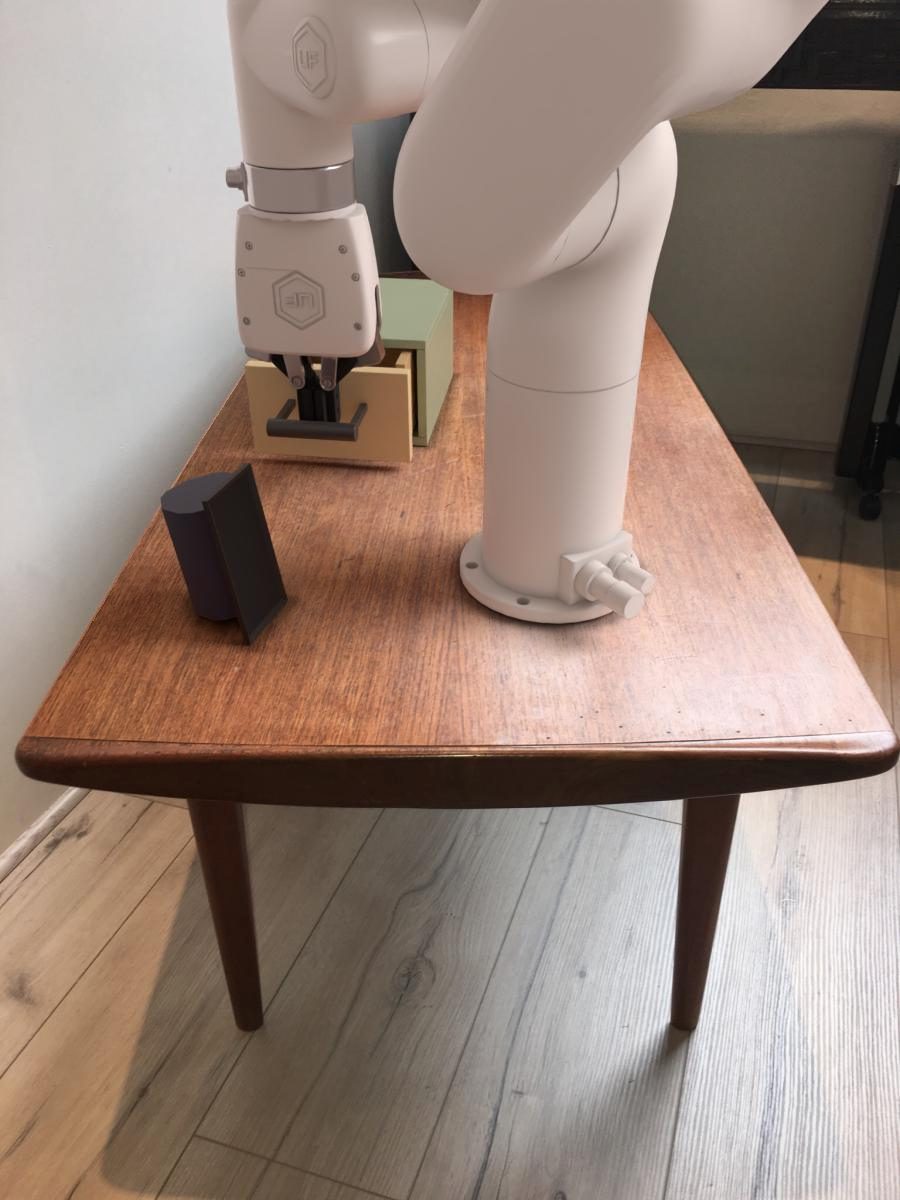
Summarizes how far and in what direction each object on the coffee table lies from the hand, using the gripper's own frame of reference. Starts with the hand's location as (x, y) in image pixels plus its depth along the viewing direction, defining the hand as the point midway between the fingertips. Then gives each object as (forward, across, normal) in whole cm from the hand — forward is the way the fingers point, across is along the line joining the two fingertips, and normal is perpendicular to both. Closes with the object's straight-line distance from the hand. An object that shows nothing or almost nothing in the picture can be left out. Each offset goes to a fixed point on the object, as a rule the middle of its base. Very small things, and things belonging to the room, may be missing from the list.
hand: (321, 430), depth 79 cm
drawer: (+4, 0, +8) cm, 9 cm away
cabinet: (+5, 0, +16) cm, 17 cm away
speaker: (+5, -2, -18) cm, 19 cm away
